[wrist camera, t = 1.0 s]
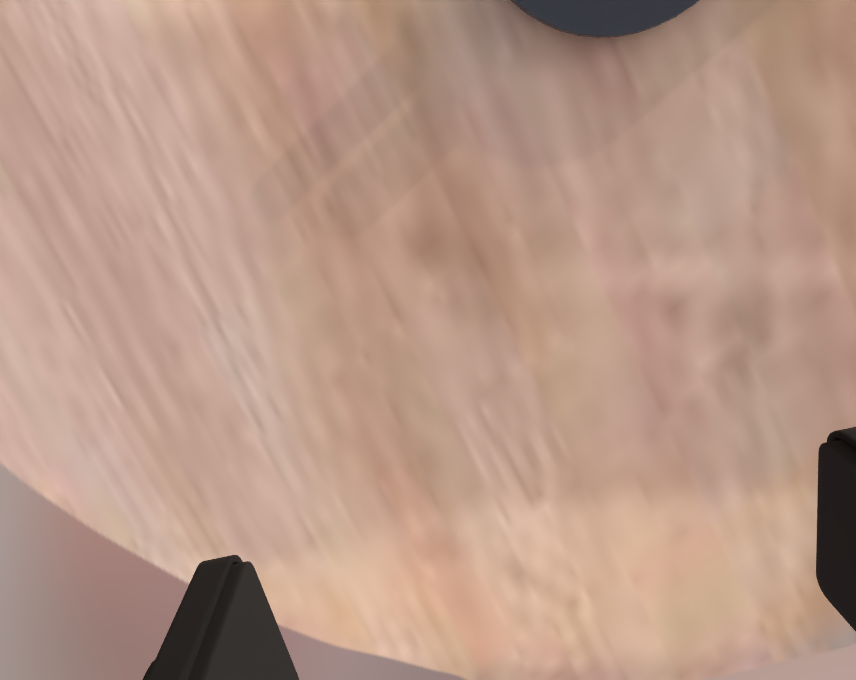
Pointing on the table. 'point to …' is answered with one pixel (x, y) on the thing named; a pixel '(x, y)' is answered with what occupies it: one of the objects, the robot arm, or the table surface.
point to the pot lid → (603, 15)
